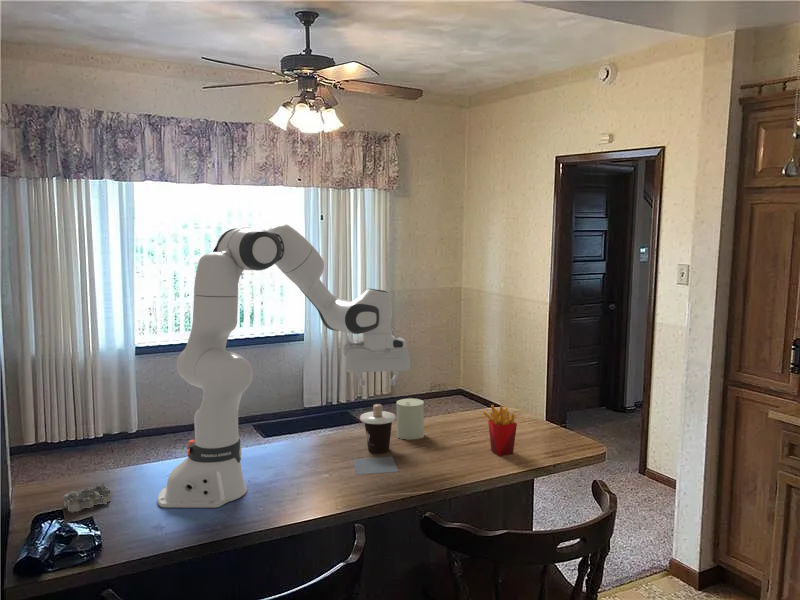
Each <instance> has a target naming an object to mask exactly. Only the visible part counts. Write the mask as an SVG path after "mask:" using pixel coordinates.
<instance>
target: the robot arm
mask: <svg viewBox="0 0 800 600" xmlns="http://www.w3.org/2000/svg"><path fill="white" fill-rule="evenodd" d="M274 265H276V267H277V268H278V269H279V270H280V271H281V272H282V273H283V274H284V275H285V276H286V277H287V278H288V279H289V280H291V282H292V283H294V284H295V285H296V287H298V288H299V290H300V291H301V292H302V293H303V295H304V296H305V297H306V299H308V300H309V302H310V303H311V304H312V305H313V306H314V307H315V309H316V310H317V312H318V315H319V317H320V319H321V321H322V324H323V325H324V326H325V327H326V329H329V330H331V331H337V332H338V331H339V332H343V333H348V334H351V335H359V334H362V341H348V343H345V344H344V345H343V355H344V356H345V357H344V358H345V359H344V370H345V371H346V372H347V373H355V375H356V377H357V379H358V380H359V387H365V385H366V381H365V379H362V378H361V376H362V373H372V372H373V373H374V372H375V373H376V372H378V373H379V372H393V376H392V378H389V385H390V386H395V385H396V380H397V378H398V376H399V375H400V372H402V371H403V372H407V371H409V370H410V369H411V357H410V351H409V350H408V348H407V341H406V340H405V339H404V338H403V337H399V336H396V335H393V333H392V332H393V331H392V326H391V325H392V323H391V322H392V319H393V313H392V312H393V306H392V298H391V295H390V293H389V292H388V291H387V290H384V289H383V290H382V289H377V288H366V289H365V290H364V292H363V293H362V294H361V295H359V296H357V297H356V298H355V299H353V300H349V299H343V298H340V297H337V296H335V295H333V293H331V292H330V290H329V289H328V288H327V286H326V285H325V284H324V283H323V282H322V280H321V277H322V275H323V273H324V269H325V261H324V259H323V258H322V255H320V252H318V250H317V249H316V248H315V247H314V246H313V245H312V244H311V243H310V242H309V241H308V240H307V239H306V237H304V236H303V235H302V234H301V233H300V232H298V231H297V230H296V229H295V228H293V227H291V226H290V225H289V224H287V223H278V224H275V225H273V226H271V227H270V228H268V230H267V229H262V228H252V227H240V228H235V227H234V228H231V229H228V230H227V231H225V232H224V233H223V234H221V236H220V237H219V239H218V240H217V243H216V245H215V247H214V249H213V250H212V251H211V252H208V253H206V254H204V255H202V256H201V257H200V258H199V260H198V263H197V268H196V272H195V277H194V284H193V285H194V286H193V287H194V288H193V307H192V308H193V309H192V311H193V312H192V324H191V330H190V333H189V338H188V340H187V343H186V346H185V348H184V349H183V350H182V351H181V352H180V354H179V355H178V357H177V359H176V370H177V373H178V375H179V376H180V377H181V379H182V380H183V381H185V382H187V384H189V385H191V386H194V387H197V388H200V389H202V399H201V404H200V406H199V408H197V410H195V413H194V415H193V421H194V423H193V424H194V439H189V441H188V443H187V458H185V459H184V460H183V461H182V462H180V463H179V464H178V465H176V466H175V467H174V468H173V469H172V470H171V472H170V473H169V475H168V478H167V482H166V485H165V487H164V486H163V488H162V489H161V490H160V492H159V493H158V495H157V504H158V506H160V507H161V508H189V509H190V508H195V509H196V508H197V509H198V508H199V509H200V508H204V509H205V508H219V507H222V506H224V505H225V504H227V503H229V502H233V501H235V500H237V499H239V498H241V497H243V496H245V494H246V493H247V492H248V487H247V484H246V481H245V479H244V478H245V477H244V475H243V469H242V462H241V461H242V444H241V439H240V437H239V407H240V404H241V399H242V396H243V394H244V392H246V390H248V388H249V387H251V386H250V385H251V383H252V381H253V378H254V369H253V367H252V364H251V363H250V362H249V361H248V359H246V358H244V357H243V356H242V355H240V354H238V353H236V352H233V351H228V350H226V347H227V343H228V339H229V337H230V335H231V333H232V332H233V331H234V330H235V329H236V328H237V325H238V312H239V311H238V308H239V306H238V304H239V282H240V278H241V276H242V273H243V272H244V271H264V270H267V269H269V268H271V267H272V266H274Z"/></svg>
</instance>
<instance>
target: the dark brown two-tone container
mask: <svg viewBox="0 0 800 600" xmlns="http://www.w3.org/2000/svg"><path fill="white" fill-rule="evenodd" d="M392 423H393V422H390V423H386V424H368V423H364V429H365V437H366V442H367V451H368V452H369V453H371V454H376V455H380V454H381V455H383V454H386V453H388V452H389V451H390V445H391V435H392V426H393V425H392Z"/></svg>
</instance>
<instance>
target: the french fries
mask: <svg viewBox="0 0 800 600" xmlns="http://www.w3.org/2000/svg"><path fill="white" fill-rule="evenodd" d="M490 407H491V411H490V412H489V413H487V412H486V411H485V410H483V412H482V414H483V415H485V417H486V418H488V419H487V420H488V421H487V422H488V432H489V441H490V450H491V452H492V453H493V454H495V455H496V456H498V457H504V456H510V455H513V454H514V450H515V449H514V448H515V442H516V434H517V426H518V424H517V423H516V422H515V419H517V416H516V414H515V413H511V415H510V411H509V410H508V407H504V408H503V406H501V405H500V406H499V410H498V409H496V408H495V405H494V404H491V405H490ZM489 414H490V415H489Z"/></svg>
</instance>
